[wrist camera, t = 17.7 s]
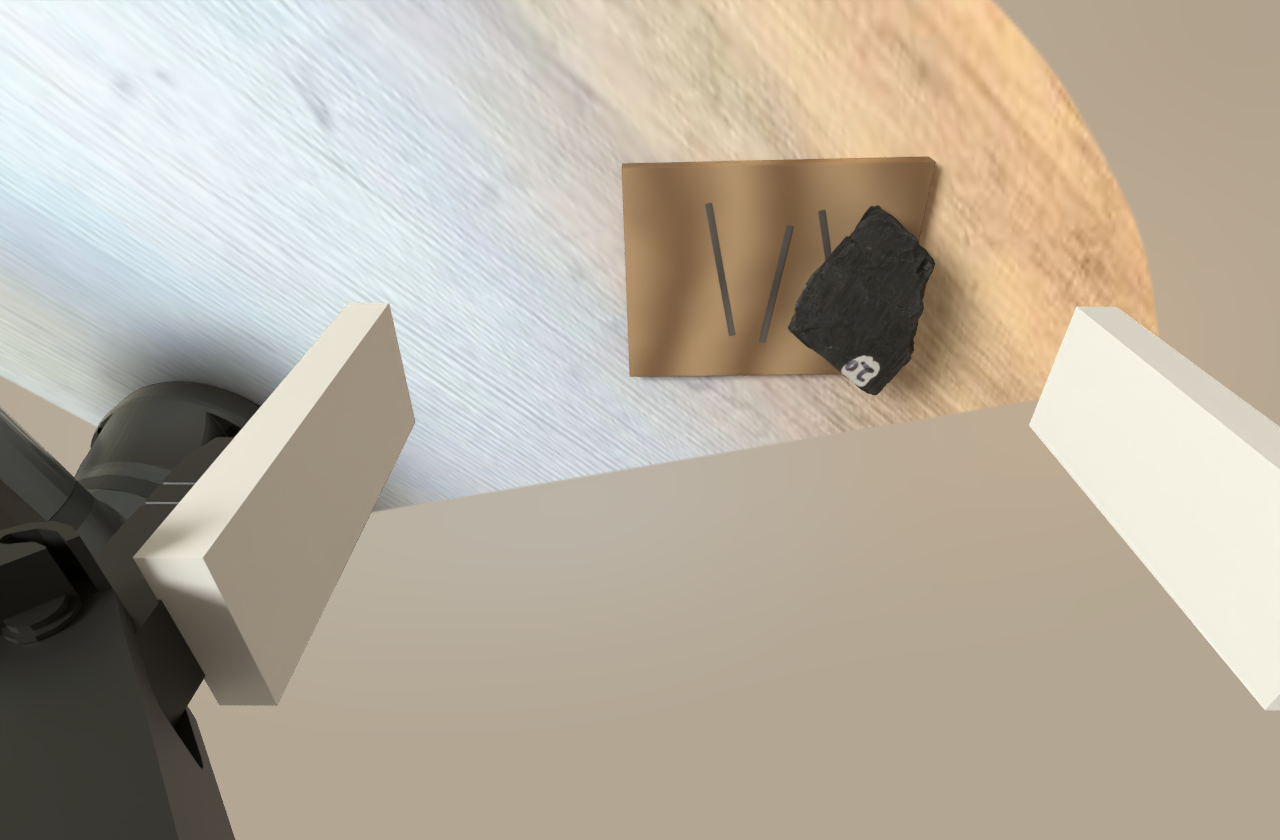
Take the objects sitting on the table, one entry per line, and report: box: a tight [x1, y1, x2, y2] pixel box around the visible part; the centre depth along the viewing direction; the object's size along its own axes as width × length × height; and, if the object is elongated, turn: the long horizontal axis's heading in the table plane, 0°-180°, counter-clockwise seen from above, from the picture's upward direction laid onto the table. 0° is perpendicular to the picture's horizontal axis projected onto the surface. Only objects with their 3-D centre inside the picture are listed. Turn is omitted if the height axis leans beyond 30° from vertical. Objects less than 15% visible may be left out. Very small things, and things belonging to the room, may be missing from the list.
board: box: [622, 157, 935, 377], centre depth 43 cm, size 18×14×1 cm
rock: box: [788, 205, 935, 395], centre depth 41 cm, size 9×10×6 cm
